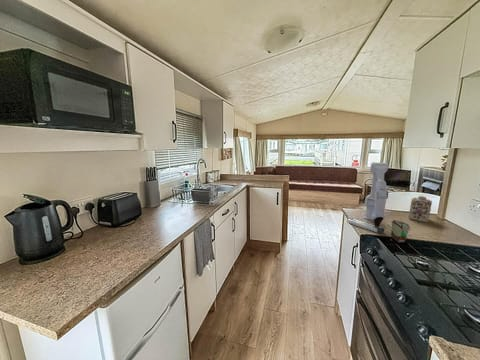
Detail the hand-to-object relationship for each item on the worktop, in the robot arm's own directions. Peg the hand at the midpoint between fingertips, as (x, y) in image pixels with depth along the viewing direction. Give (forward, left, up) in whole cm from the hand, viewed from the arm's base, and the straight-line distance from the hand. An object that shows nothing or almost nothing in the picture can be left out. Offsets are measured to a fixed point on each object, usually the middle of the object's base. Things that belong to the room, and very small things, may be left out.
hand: (376, 227), depth 137 cm
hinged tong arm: (+2, -6, -1) cm, 7 cm away
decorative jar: (-54, +6, -2) cm, 54 cm away
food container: (+3, +15, -2) cm, 15 cm away
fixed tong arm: (+5, -6, -2) cm, 8 cm away
